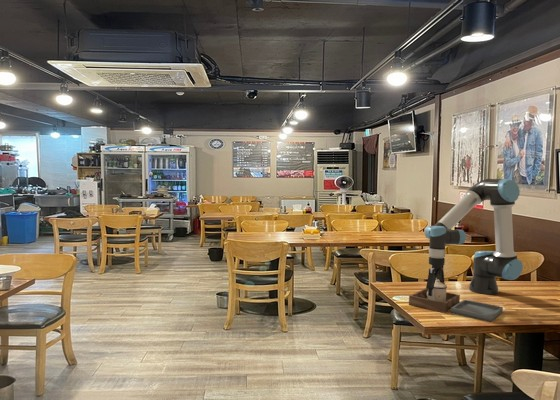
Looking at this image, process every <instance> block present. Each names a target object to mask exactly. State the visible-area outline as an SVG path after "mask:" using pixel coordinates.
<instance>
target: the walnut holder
mask: <svg viewBox="0 0 560 400" xmlns="http://www.w3.org/2000/svg"><path fill="white" fill-rule="evenodd" d="M427 291H428V289H426V287H425V288H423V289H420V290H418V291H416V292H414V293H412V294H410V295H409V296H408V305H409V306H413V307H417V308H422V309H427V310H430V311H436V312H440V313H444V314H445V313H447V312H449V311H451V307H453V306H455V305H456V304H458V303H459V302H461V301H460V300H461V298H460V297H461V295H460V294H458V293H451V292H447V291H446V302H439V301H434V300H429V299H428V297H427Z"/></svg>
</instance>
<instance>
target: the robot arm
mask: <svg viewBox="0 0 560 400" xmlns="http://www.w3.org/2000/svg"><path fill="white" fill-rule="evenodd" d="M520 194H521V192H520V187H519V185H518V183H517V182H516V181H514V180H513V179H510V178H509V179H507V178H485V179H482V180H481V181H478V182H477V183H475V184H474V185H472V186H471V187H470V188H469V189H468V190H466V191H465V195H464V196H463V197H462V198H461V199H460V200H459V201H458V202H457V203H456V204H455V205H454V206H453V207H451V209H450V210H448V211H447V213H445V214H444V216H442V217H441V219H440V220H438V221H437V222H436V223H435V224H434V225H429V226H428V225H427V226H426V228H425V230H424V236H425V238H426V239H428V240H429V246H428V247H429V248H428V256H429V257H428V264H429V265H430V266H431V268H428V275H427V279H426V280H427V282H426V286H425V288H426V289H428V297H427V299H429V300H434V289H433V288H434V284H435V281H436V280H440V282H442V283H443V284H445V285H446V283H445V275H444V274H445V273H444V266H445V263H446V262H445V261H446V259H445V257H446V246H449V245H450V246H451V245H456V246H457V245H462V244H464V243H465V242H466V241H467V240H466V239H467V237H466V236H467V234H466V231H464V230H463V229H457V228H456V229H453V228H454V227H456V225H457V224H458V223H459V222H460V221H461V220H462V219H464V217H465V216H466V215H467V214H469V213H470V211H471V210H473V208H475V206H477V205H480V204H482V202H484V201H489V204H490V206H491V207H493V219H494V221H493V222H494V223H493V224H494V241H495V242H494V243H495V251H494V250H478V251H475V252H474V256H473V271H472V274H473V275H472V278H471V280H470V283H469V286H468V287H469V288H468V290H470V291H471V292H473V293H477V294H483V295H497V294H499V286H498V283H497V279H496V277H498V278H501V279H504V280H509V281H513V280H517V278H519V277H520V276H521V275H522V272H523V270H524V269H523V268H524V265H523V262H522V261H521V260H520V259H518V254H517V253H516V251H514V248H515V247H514V231H513V230H514V229H513V228H514V227H513V206H514V205H515V203H516V201H517V200H518V199H519V197H520Z"/></svg>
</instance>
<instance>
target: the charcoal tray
mask: <svg viewBox="0 0 560 400" xmlns="http://www.w3.org/2000/svg"><path fill="white" fill-rule="evenodd" d="M503 308H504V307H503V306H499V305H495V304H489V303H484V302H478V301H475V300H469V299H462V300H461V301H460V302H459V303H458V304H456V305H455V306H453V307H451V309H450V314H454V315H457V316H462V317H466V318H471V319H475V320H479V321H485V322H490V323H493V322H494V321H495V320H496V319H497V318H498V317H499V316H501V314H502V313H503V311H504V309H503Z"/></svg>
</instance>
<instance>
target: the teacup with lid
mask: <svg viewBox="0 0 560 400" xmlns="http://www.w3.org/2000/svg"><path fill="white" fill-rule="evenodd" d="M433 289H434V301H439V302H446V292H447V289H448V286H447V284H446V283H445V284H443V283H442V282H440V280H437V279H436V280H435V284H434V288H433ZM426 298H428V291H427V297H426Z"/></svg>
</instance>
